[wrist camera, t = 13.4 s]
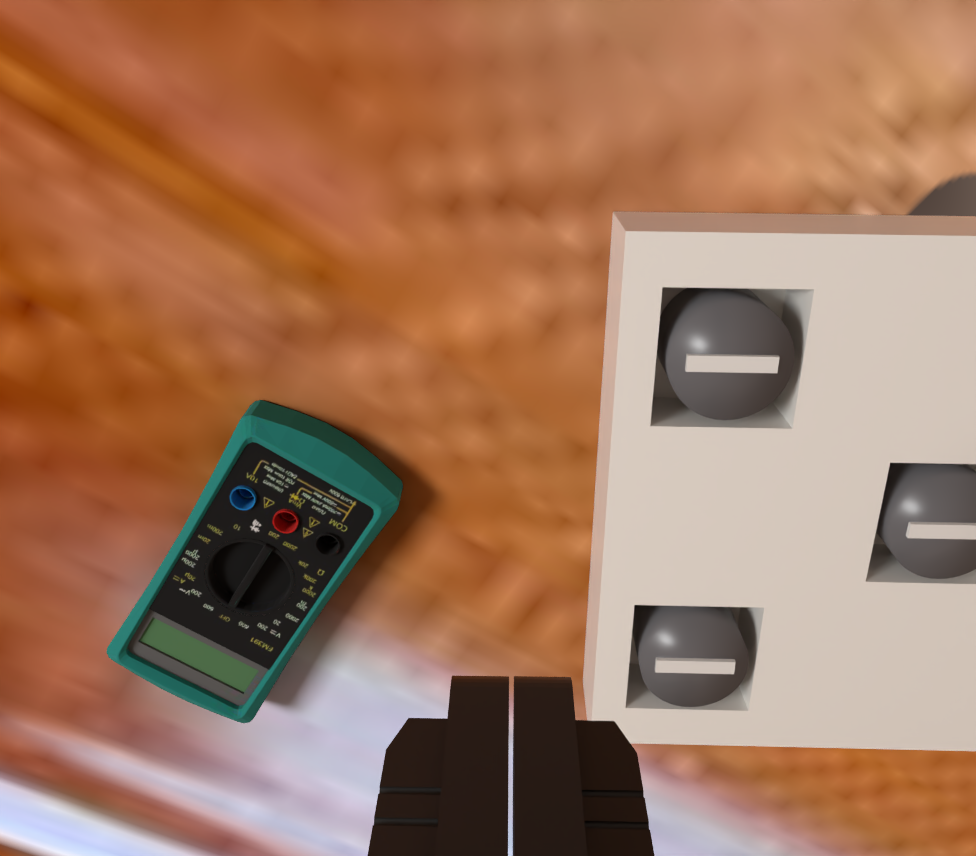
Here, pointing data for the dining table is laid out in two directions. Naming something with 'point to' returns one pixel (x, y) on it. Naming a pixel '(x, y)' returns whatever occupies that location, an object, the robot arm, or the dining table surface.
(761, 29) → the dining table surface
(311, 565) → the digital multimeter
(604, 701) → the knob mount
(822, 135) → the dining table surface
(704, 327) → the knob
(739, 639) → the knob
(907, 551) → the knob
